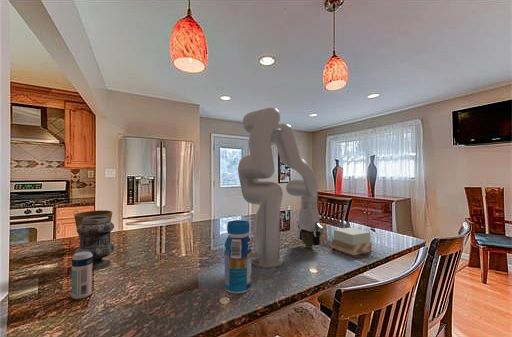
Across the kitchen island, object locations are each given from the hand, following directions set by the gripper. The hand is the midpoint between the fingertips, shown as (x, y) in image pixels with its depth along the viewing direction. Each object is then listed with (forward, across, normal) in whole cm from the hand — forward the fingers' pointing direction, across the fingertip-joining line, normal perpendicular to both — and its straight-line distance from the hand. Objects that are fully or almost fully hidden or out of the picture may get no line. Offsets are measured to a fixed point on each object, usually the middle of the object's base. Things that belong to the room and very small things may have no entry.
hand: (309, 242), depth 115 cm
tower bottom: (+3, +11, +16) cm, 19 cm away
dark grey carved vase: (+2, -20, -86) cm, 89 cm away
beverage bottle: (+2, +21, -46) cm, 51 cm away
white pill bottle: (+2, +5, -87) cm, 87 cm away
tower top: (-1, +11, +15) cm, 19 cm away
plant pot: (+2, -47, -89) cm, 101 cm away
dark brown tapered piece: (+3, 0, 0) cm, 3 cm away
